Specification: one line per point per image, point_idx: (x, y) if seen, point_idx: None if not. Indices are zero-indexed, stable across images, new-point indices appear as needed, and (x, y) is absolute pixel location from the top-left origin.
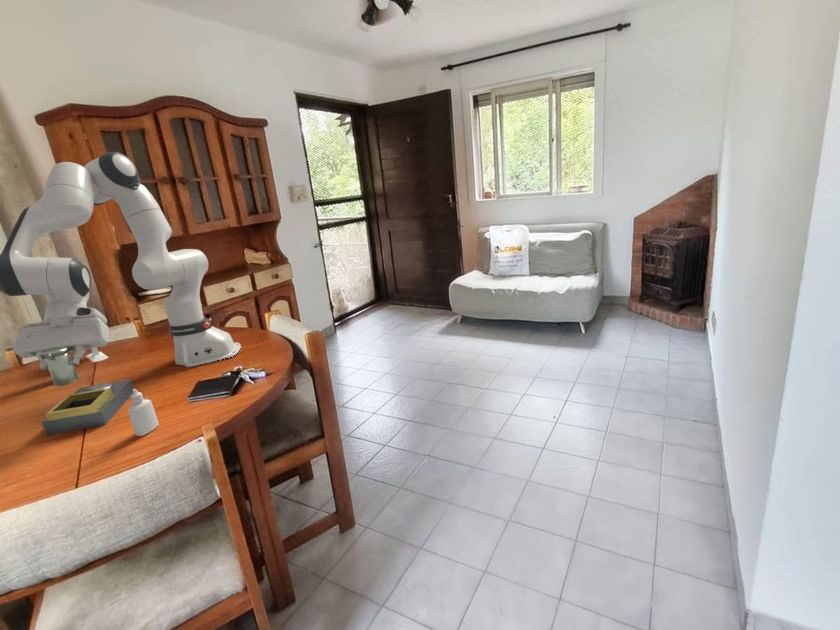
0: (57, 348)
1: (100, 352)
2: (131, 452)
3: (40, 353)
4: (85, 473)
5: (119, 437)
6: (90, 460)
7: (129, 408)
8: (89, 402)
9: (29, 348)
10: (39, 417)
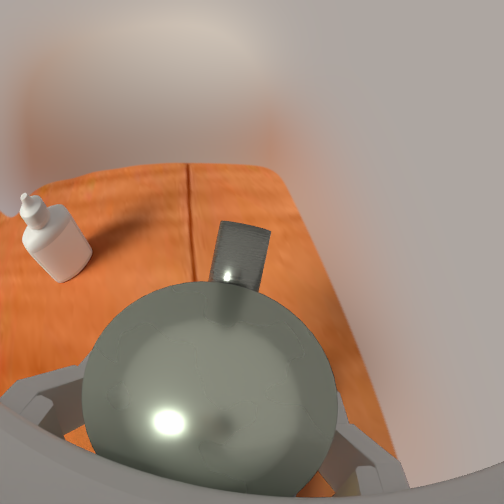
0: (192, 452)
1: None
2: (109, 198)
3: (375, 478)
4: (178, 178)
5: (122, 272)
6: (173, 212)
7: (62, 211)
8: None
9: (477, 488)
10: None
